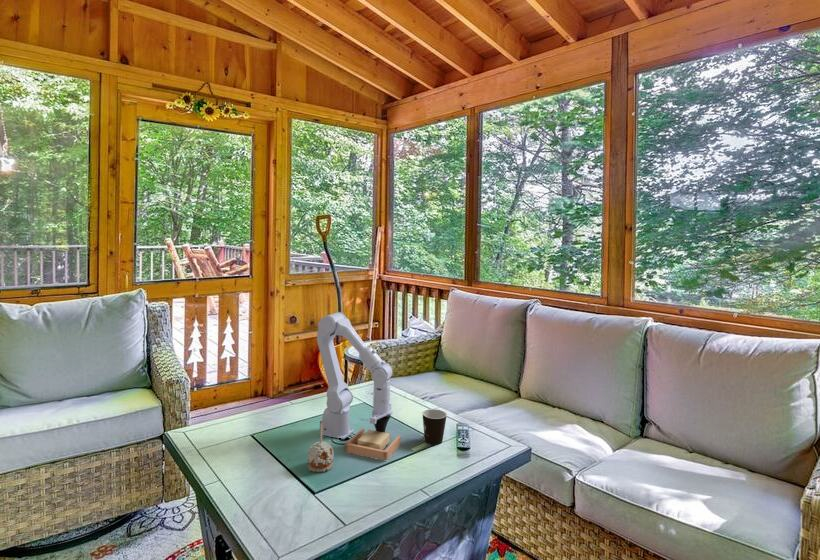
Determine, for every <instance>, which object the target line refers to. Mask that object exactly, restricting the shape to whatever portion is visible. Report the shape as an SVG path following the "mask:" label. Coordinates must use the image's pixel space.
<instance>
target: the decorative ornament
mask: <svg viewBox="0 0 820 560" xmlns="http://www.w3.org/2000/svg"><path fill="white" fill-rule="evenodd" d="M322 425H323V421H322V419H320V421H319V441H316V442H315V443H312V445H311V446H310V448H308V451H307V461H308V463H307V468H308V470H309V471H312V472H317V473H319V472H320V473H321V472H325V471H329V470H331V469H333V466H334V455H335V454H334V449H333V446H332V445H331V444H330V443H328V442H326V441H323V435H322Z"/></svg>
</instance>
